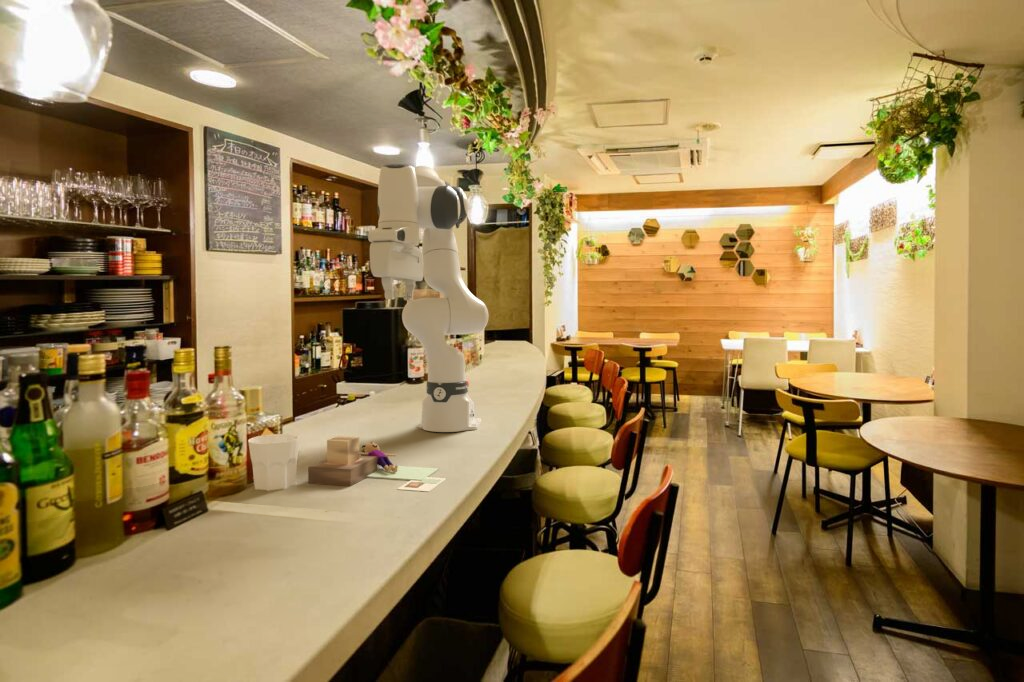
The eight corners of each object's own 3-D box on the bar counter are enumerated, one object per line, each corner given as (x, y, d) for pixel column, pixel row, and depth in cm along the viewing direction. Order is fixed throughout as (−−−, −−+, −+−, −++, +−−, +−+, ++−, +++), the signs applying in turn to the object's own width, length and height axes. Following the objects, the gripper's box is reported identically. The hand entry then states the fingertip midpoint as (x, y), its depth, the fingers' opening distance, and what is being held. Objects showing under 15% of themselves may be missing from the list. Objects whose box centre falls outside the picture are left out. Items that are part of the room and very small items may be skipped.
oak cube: (339, 457, 137) (339, 435, 137) (359, 459, 136) (359, 436, 136) (327, 463, 133) (326, 440, 132) (348, 464, 131) (347, 441, 131)
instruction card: (416, 476, 134) (416, 475, 134) (446, 478, 133) (446, 477, 133) (397, 489, 125) (397, 488, 125) (429, 491, 123) (429, 490, 123)
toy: (373, 462, 132) (348, 437, 144) (367, 485, 133) (343, 459, 145) (415, 463, 139) (388, 439, 151) (409, 486, 139) (382, 460, 151)
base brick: (338, 469, 141) (337, 454, 141) (377, 471, 139) (377, 456, 139) (308, 482, 130) (308, 466, 130) (350, 486, 127) (350, 469, 127)
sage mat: (383, 466, 144) (383, 465, 144) (438, 469, 141) (438, 468, 141) (362, 477, 134) (362, 475, 134) (421, 481, 131) (421, 479, 131)
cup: (310, 481, 132) (309, 435, 131) (278, 494, 122) (276, 444, 122) (272, 477, 135) (271, 432, 134) (238, 489, 125) (237, 441, 125)
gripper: (405, 243, 146) (405, 301, 147) (363, 231, 126) (364, 298, 127) (429, 242, 144) (430, 300, 145) (391, 230, 125) (392, 298, 125)
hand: (399, 299), depth 136 cm, fingers open, 8 cm apart
